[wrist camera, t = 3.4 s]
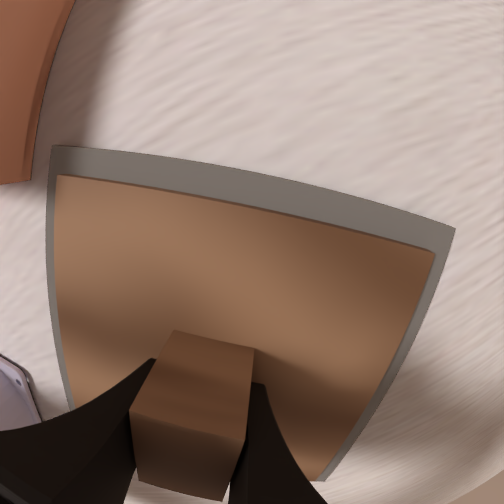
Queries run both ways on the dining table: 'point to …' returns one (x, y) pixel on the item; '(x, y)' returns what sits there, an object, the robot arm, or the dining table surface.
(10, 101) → the open box
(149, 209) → the lid
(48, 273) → the mat
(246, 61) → the dining table surface
